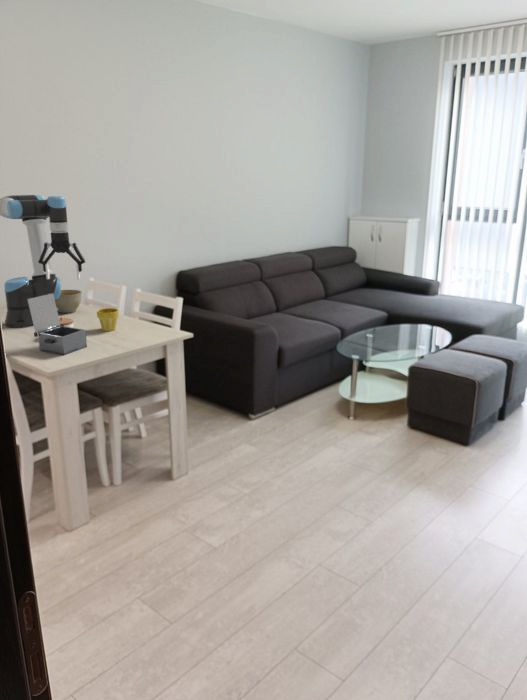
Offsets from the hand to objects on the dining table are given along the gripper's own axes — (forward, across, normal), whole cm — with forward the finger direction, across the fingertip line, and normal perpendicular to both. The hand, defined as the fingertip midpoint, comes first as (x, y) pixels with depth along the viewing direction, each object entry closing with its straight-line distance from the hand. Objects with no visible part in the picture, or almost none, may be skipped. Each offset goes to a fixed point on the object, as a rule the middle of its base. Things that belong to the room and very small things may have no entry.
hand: (63, 278), depth 264 cm
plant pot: (+28, +17, +14) cm, 36 cm away
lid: (+13, -6, -13) cm, 19 cm away
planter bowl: (+29, -12, +54) cm, 62 cm away
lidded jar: (+28, -3, +3) cm, 29 cm away
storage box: (+28, +2, -18) cm, 33 cm away
